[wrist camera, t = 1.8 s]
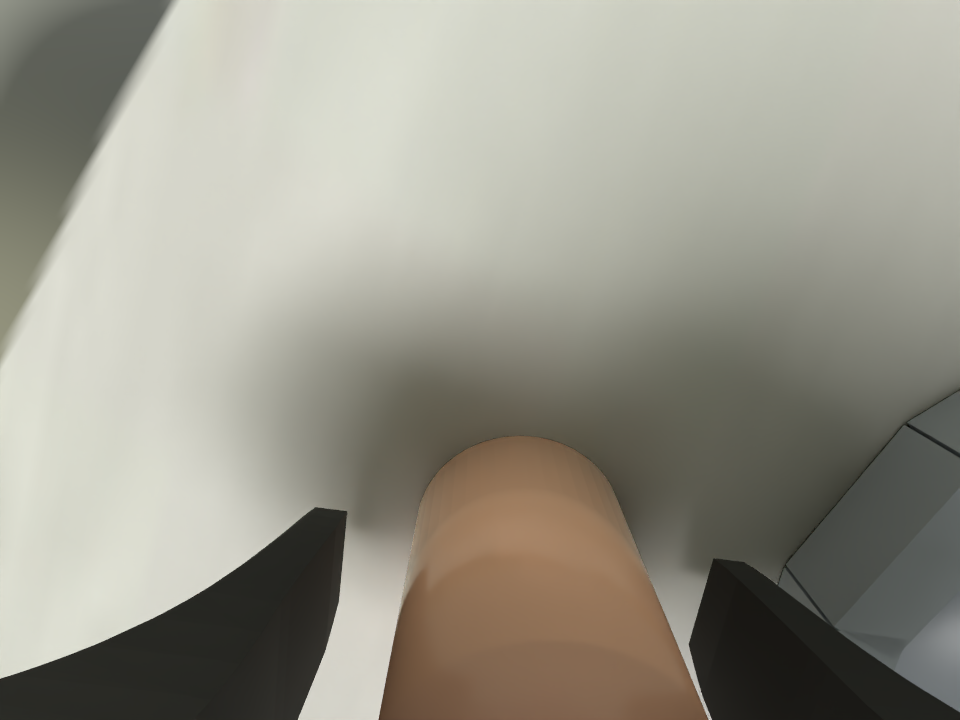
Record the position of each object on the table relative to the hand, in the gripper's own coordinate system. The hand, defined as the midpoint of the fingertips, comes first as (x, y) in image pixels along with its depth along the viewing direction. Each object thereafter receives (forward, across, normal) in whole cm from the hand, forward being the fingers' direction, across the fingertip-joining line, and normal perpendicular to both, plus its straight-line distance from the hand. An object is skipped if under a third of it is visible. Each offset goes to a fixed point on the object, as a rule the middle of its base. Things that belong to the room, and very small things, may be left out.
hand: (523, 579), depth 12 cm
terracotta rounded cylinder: (+2, 0, 0) cm, 2 cm away
